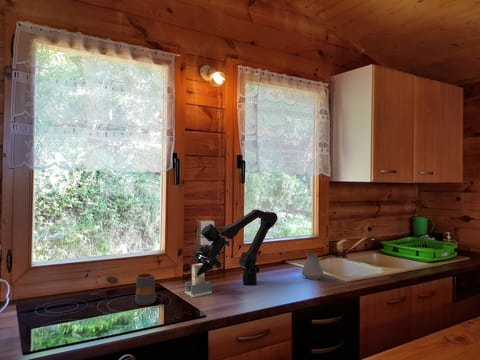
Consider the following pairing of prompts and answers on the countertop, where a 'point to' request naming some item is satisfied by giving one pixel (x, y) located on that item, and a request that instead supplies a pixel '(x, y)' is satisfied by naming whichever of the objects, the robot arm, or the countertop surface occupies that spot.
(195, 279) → the ash slab
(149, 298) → the mug
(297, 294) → the countertop surface
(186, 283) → the grey channel bracket
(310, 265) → the coffee pot
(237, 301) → the countertop surface
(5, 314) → the countertop surface
